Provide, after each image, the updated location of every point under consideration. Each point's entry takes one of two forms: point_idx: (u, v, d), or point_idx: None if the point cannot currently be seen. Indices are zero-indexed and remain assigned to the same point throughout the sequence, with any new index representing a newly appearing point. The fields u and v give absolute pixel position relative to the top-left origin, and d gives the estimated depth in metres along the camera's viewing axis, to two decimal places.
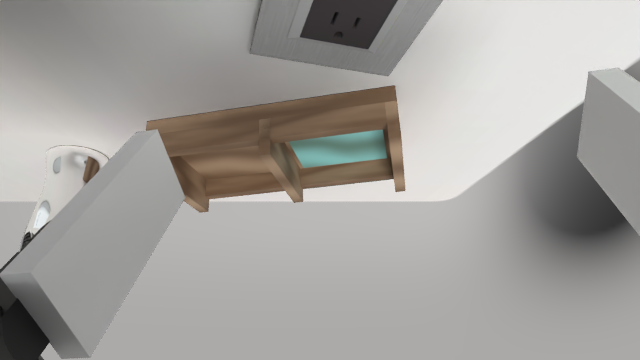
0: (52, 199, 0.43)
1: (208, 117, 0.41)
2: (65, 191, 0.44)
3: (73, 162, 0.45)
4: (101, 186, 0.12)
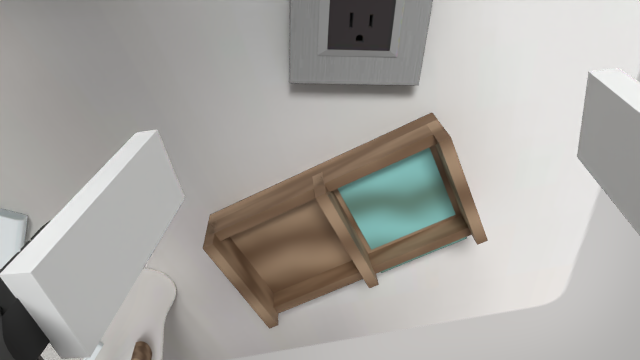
0: (116, 314, 0.41)
1: (265, 192, 0.42)
2: (130, 306, 0.42)
3: (140, 282, 0.45)
4: (101, 186, 0.12)
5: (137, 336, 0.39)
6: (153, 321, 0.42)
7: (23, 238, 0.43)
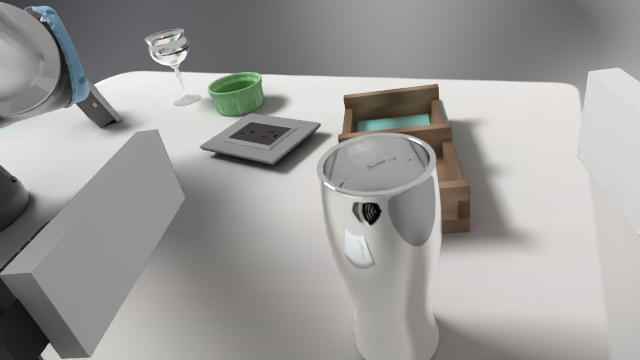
0: None
1: None
2: None
3: None
4: (101, 186, 0.12)
5: None
6: None
7: None
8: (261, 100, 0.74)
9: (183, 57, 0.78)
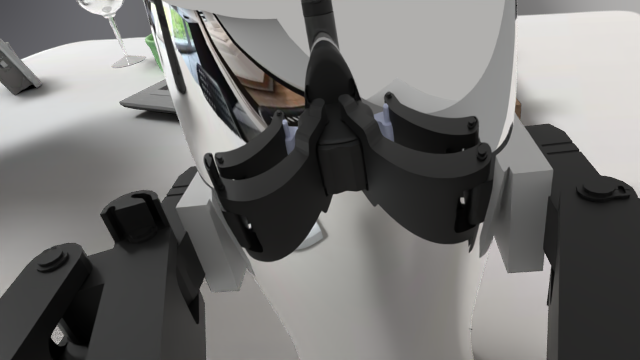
0: None
1: None
2: None
3: None
4: None
5: None
6: None
7: None
8: None
9: (118, 3, 0.61)
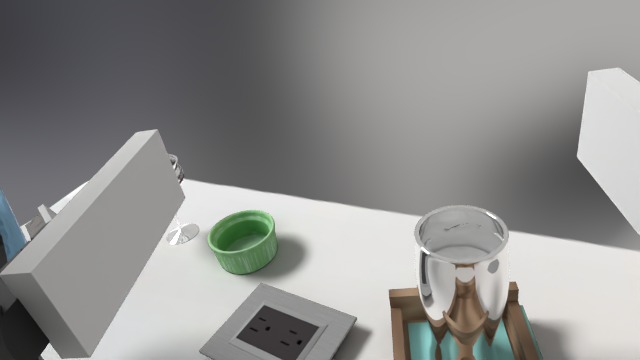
0: None
1: None
2: None
3: None
4: (101, 186, 0.12)
5: None
6: None
7: None
8: (274, 250, 0.60)
9: None
